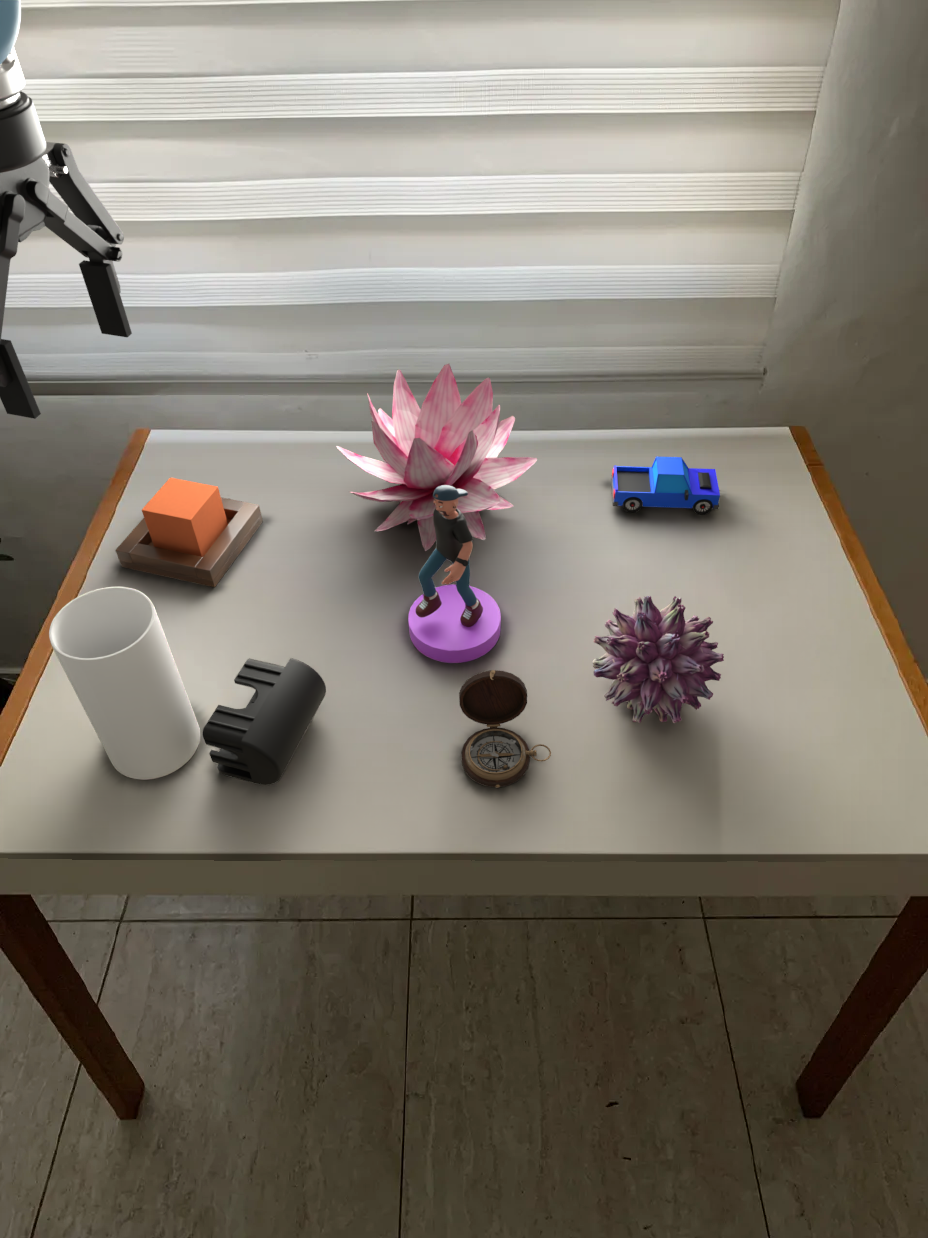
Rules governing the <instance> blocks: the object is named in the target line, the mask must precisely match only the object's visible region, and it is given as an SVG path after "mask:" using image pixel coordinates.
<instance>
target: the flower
mask: <svg viewBox="0 0 928 1238" xmlns="http://www.w3.org/2000/svg"><path fill="white" fill-rule="evenodd" d="M633 601H634V610H633V613H632V615H631V616H629V615H627V614H624V613H622V612H621V611H620V610H619V609H617V608H616V607H614V608H613V612H612V615H613V617H614V618H615V620H616V622H615V621H612V620H611V619H608V620H607V621H605V623H604V627H605V628H606V629H607V630H608V632H609V635H606V636H599V635H594V638H593V643H594V644H597V645H599V646H600V647H601V648H602V649H603V650H604V651H605V652H606V653H604V654H603V655H602V656H600V657H598V658H594V659H592V668H594V670H593V676H594V677H595V678H603V679H607V680H612V682H611V686H610V687H609V690H608V691H607V692H606V693H605V694H604V698H605V701H606V702H608V701H609V700H611V704H613V706H614V707H619V705H621V704H622V703H625V702H626V703H627V704H626V707H627V709H628V710H630V711H633V716H632V722H633V723H639V724H641V723H642V720H643V719H644V716H645V715H650V714H651V713H652V712H653V710H654V711H655V713H656V714H657V716H658V719H659V722H661V723H664V722H667V721H668V716H669V717H670V719H671V721H672V723H673V724H676V723H680V722H682V716H681V715H682V714H681V710H682V708H683V707H682V706H683V705H684V704H685V705H689V706H691V707H692V708H693V709H695V711H697V710H699V709H700V708H701V707H702V703H701V702H700V700H699V699H698V698H705V700H709V701H710V700H711V698H713V696H714V693H713V691H711V690H710V689H709V688H708V687H707V685H706V682H708V681H717V682H720V680H721V679H722V677H721V676H722V673H720V672H717V671H715V669H713V668H712V666H714V665H715V664H717V663H720V662H721V663H722V662H724V661H725V659H724V658H725V656H724V653H722V652H721V653H719V652H716V651H713V650H716V649H717V648H718V645H719V642H717V641H713V642H708V641H705V640H707V639H709V638H710V632H708V629H709V627H710V626H712V625H713V623H714V621H713V620H712V618H711V617H710V616H708V617H705V618H704V619H702V620H701V619H700V617H699V616H697V615H695V614H694V615H693V616H692V617H690V618H689V619H686V618H685V610H686V606H685V605H684V604H682V597H677V596H676V595H675V596H674V597H673V598H672V601H671V603H669V604H668V605H667V606H665V607H664V608H661V609H660V610H659V608H658V607H657V606H656V605H655V604H654V602H653V599H652V596H651V595H646V596H643V599H642V598H641V596H639V597H638V598H634V600H633Z"/></svg>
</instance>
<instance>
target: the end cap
mask: <svg viewBox="0 0 928 1238" xmlns="http://www.w3.org/2000/svg"><path fill="white" fill-rule="evenodd" d="M233 681H234V684H235V685H239V686H244V687H247V688H251V689H254V690H255V691H254V693H253V695H252V696H251V698H250V700H249V701H248V703H247V705H246V706H245V707H243V708H234V707H231V706H226V705H221V704H218V705H216V708H215V709H214V711H213V712H212V714H211V715H210V717H209V718H208V720H207V722H206V723H205V725H204V727H203V728H202V738H203V741H204V743H205V745H206V746H210V747H214V748H218V749H219V751H218V750H213V749H210V751H209V753H208V754H209V757H210V759H211V762H212V763H215V764H217V771H218V772H219V774H221V775H222V776H226V777H230V778H234V779H238V780H242V781H246V782H249V783H252V784H255V785H260V786H270V785H274V784H276V783H277V782H279V781H280V779H282V777H283V775H284V773H285V772H286V769H287V768H288V766H289V763H290V762H291V760H292V759H293V756H294V754H295V752H296V751H297V749H298V747H299V745H300V744H301V741H302V740H303V737H304V736H305V733H306V732H307V730H308V728H309V726H310V725H311V723H312V721H313V719H314V717H315V716H316V713H317V712H318V710H319V708H320V706H321V704H322V702H323V700H324V698H325V697H326V694H327V685H326V683H325V681H324V679H323V677H322V676H321V675H320V674H319V672H317V670H315V669H314V668H313V667H312V666H310V665H309V664H307V663H306V662H304V661H301V660H299V659H297V658H294V657H289V659H288V661H287V662H286V665H285V666H284V665H280V664H276V663H271V662H267V661H262V660H258V659H254V658H250V657H249V658H247V659H246V661H244V663H243V665H242V667H241V668H240V670H239V671H238V673H237V674H236V676H235V678H234V679H233Z"/></svg>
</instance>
